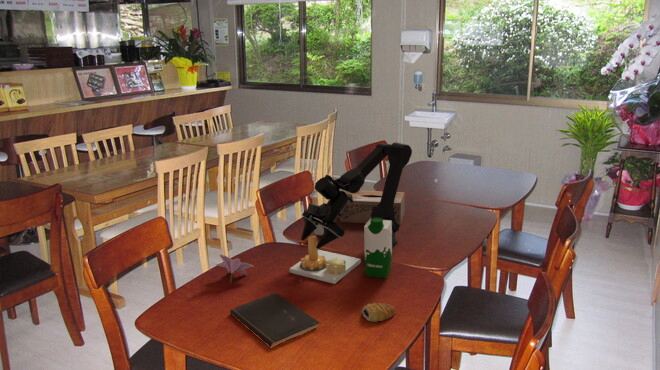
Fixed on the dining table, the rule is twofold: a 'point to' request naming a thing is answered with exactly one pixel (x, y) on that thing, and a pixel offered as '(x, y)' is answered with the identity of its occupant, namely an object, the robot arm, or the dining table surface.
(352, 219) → the tissue box cover
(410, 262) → the dining table surface
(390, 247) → the milk carton
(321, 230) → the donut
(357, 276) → the dining table surface
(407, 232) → the dining table surface
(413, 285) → the dining table surface
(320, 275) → the carrier plate
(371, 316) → the pastry
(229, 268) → the lily
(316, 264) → the planet gear
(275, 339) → the hardcover book
